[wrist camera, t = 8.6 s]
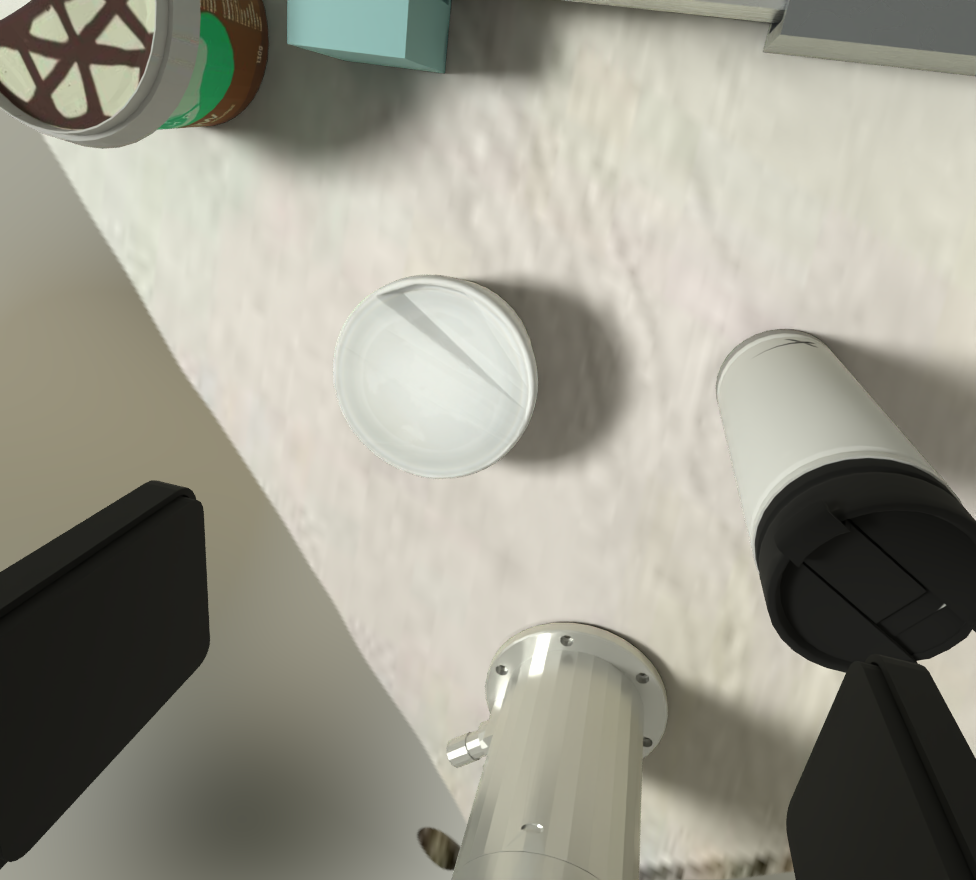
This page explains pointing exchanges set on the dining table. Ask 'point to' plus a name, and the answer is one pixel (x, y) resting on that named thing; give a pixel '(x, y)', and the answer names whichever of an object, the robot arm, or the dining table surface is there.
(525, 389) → the ramekin
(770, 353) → the travel mug
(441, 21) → the socket block
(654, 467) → the dining table surface
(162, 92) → the food container
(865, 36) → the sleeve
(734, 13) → the multicoloured piece
